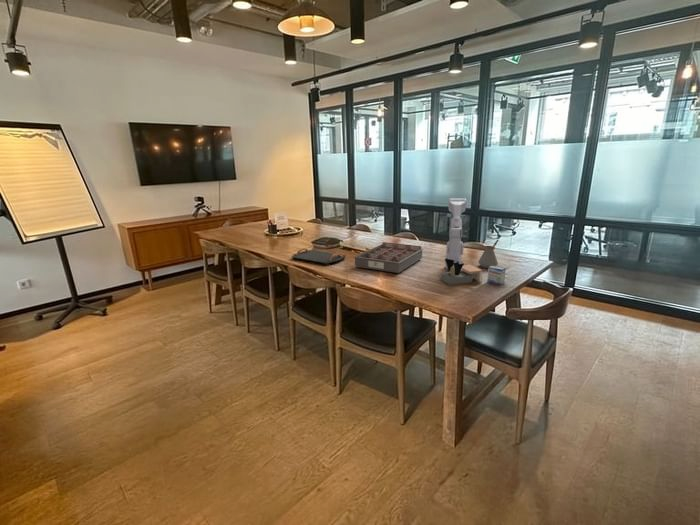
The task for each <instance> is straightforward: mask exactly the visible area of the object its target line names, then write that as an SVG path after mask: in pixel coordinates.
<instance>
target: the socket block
mask: <svg viewBox="0 0 700 525" xmlns="http://www.w3.org/2000/svg"><path fill="white" fill-rule="evenodd" d="M440 280H441V281H443V282H444V283H445V284H447V285H449V286H453V285H455V286H456V285H462V284H469V283H473V280H474V279H473V275H471V274H469V273H468V272H466V271H464V270H461V271H460V274H459V275H457V276H450V271H445V272H441V273H440Z"/></svg>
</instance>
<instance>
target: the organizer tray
mask: <svg viewBox="0 0 700 525" xmlns="http://www.w3.org/2000/svg"><path fill="white" fill-rule="evenodd" d="M423 251H424V248H422V246H421V245H414V244H405V243H404V244H403V243H396V242H386V241H382V244H379V245H377V246H375V247H373V248H370V249H368V250H365V251H364V252H361V253H360V254H357V255H354V256H353V258H354V266H355V268H362V269H363V268H364V269H370V270H376V271H383V272H389V273H396V274H399V273H401V272H403V271H404V270H405V269H407V268H409V267H411V266H412V265H413V264H415V263H417V262H418V261H420V260H421V259H423Z"/></svg>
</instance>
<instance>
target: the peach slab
mask: <svg viewBox="0 0 700 525" xmlns="http://www.w3.org/2000/svg"><path fill="white" fill-rule="evenodd" d="M461 269H462V270H463V271H465V272H467V273H469V274H471V275H473V280H475V281H476V282H479V283H482V281H483V270H482V269H480V268H479V267H476V266H474V265H472V264H464V265H463V267H462V268H461ZM462 270H461V271H462Z"/></svg>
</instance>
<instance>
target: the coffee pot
mask: <svg viewBox="0 0 700 525" xmlns="http://www.w3.org/2000/svg"><path fill="white" fill-rule="evenodd" d="M499 241H500V239H496V241H495V242H494V244H493V245H484V246H483V248H484V250H483V252H482V254H481V256H480V258H479V260H478V264H479V265H480V266H481V267H482V268H483V269H489V267H490V266H496V267H497V266H498V260H497V256H496V253H495V251H494V250H495V249H496V245H497V244H498V243H499Z"/></svg>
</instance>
